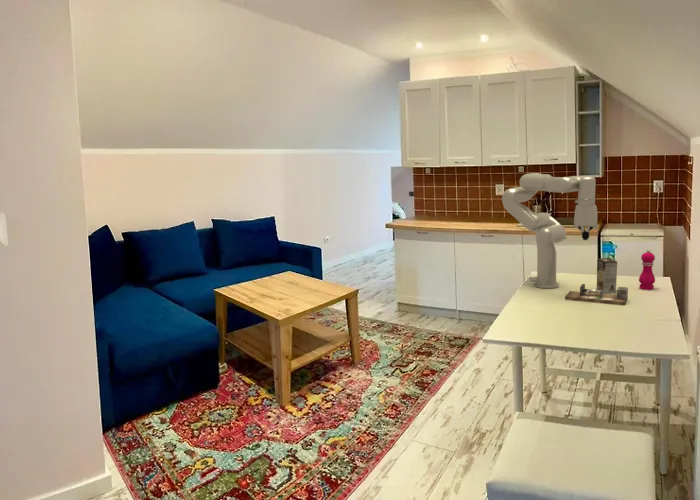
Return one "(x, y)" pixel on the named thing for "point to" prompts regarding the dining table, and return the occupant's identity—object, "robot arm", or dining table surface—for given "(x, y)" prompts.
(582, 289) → the grey rod with block
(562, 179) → the robot arm
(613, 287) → the coffee box
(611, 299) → the base
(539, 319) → the dining table surface
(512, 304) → the dining table surface
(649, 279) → the pepper mill
